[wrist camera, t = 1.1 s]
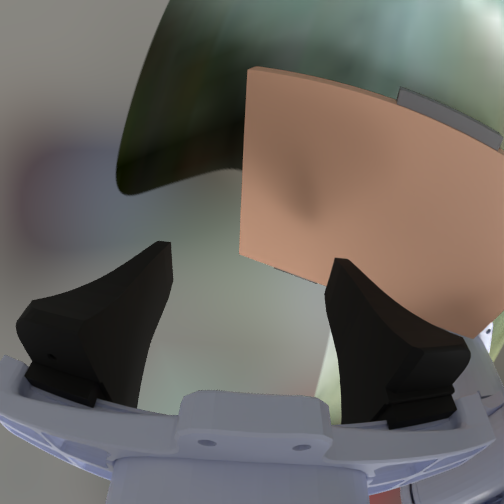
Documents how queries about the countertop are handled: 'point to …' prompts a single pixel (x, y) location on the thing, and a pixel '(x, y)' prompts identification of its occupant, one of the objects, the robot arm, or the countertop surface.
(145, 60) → the countertop surface
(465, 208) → the lid
